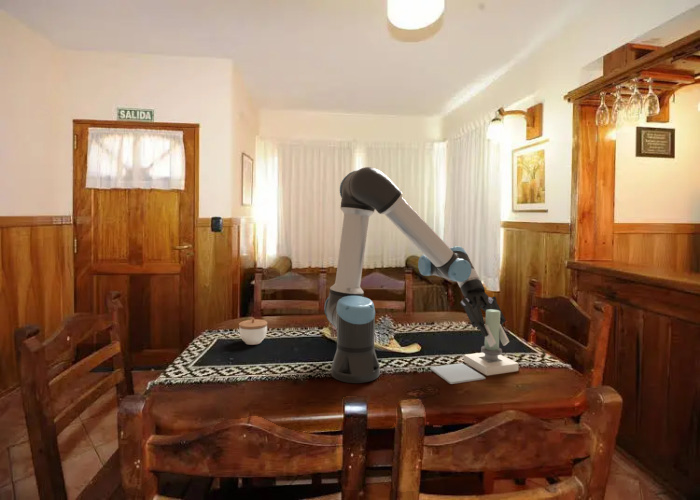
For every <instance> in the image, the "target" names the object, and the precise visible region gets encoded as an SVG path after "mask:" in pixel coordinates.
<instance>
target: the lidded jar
mask: <svg viewBox="0 0 700 500" xmlns="http://www.w3.org/2000/svg"><path fill="white" fill-rule="evenodd" d="M238 330H239V331H238V332H239V336H240V339H241V340H242V341H243V342H244V344H246V345H252V346H253V345H259V344H262V341H264V339H265V338H266V336H267V333H268V332H267V331H268V321H267V320H265V319H256V318H251V319H248V320H247V319H246V320H243V321H241V322H239V323H238Z"/></svg>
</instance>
